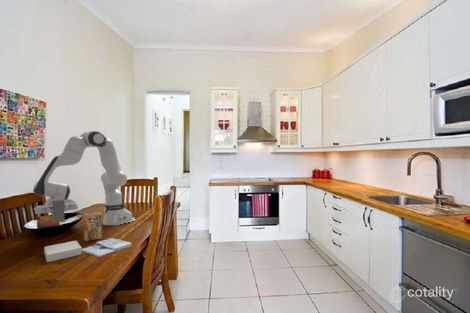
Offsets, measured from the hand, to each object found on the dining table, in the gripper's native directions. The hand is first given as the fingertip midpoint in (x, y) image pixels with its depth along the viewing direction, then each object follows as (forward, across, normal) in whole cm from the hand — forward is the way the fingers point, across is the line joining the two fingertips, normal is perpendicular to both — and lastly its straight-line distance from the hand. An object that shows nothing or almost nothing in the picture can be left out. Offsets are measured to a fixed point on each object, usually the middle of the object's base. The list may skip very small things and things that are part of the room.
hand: (58, 210), depth 137 cm
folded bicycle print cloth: (+22, +19, +21) cm, 36 cm away
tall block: (-1, 0, +6) cm, 7 cm away
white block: (+17, 0, +20) cm, 26 cm away
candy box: (+2, +17, +20) cm, 26 cm away
